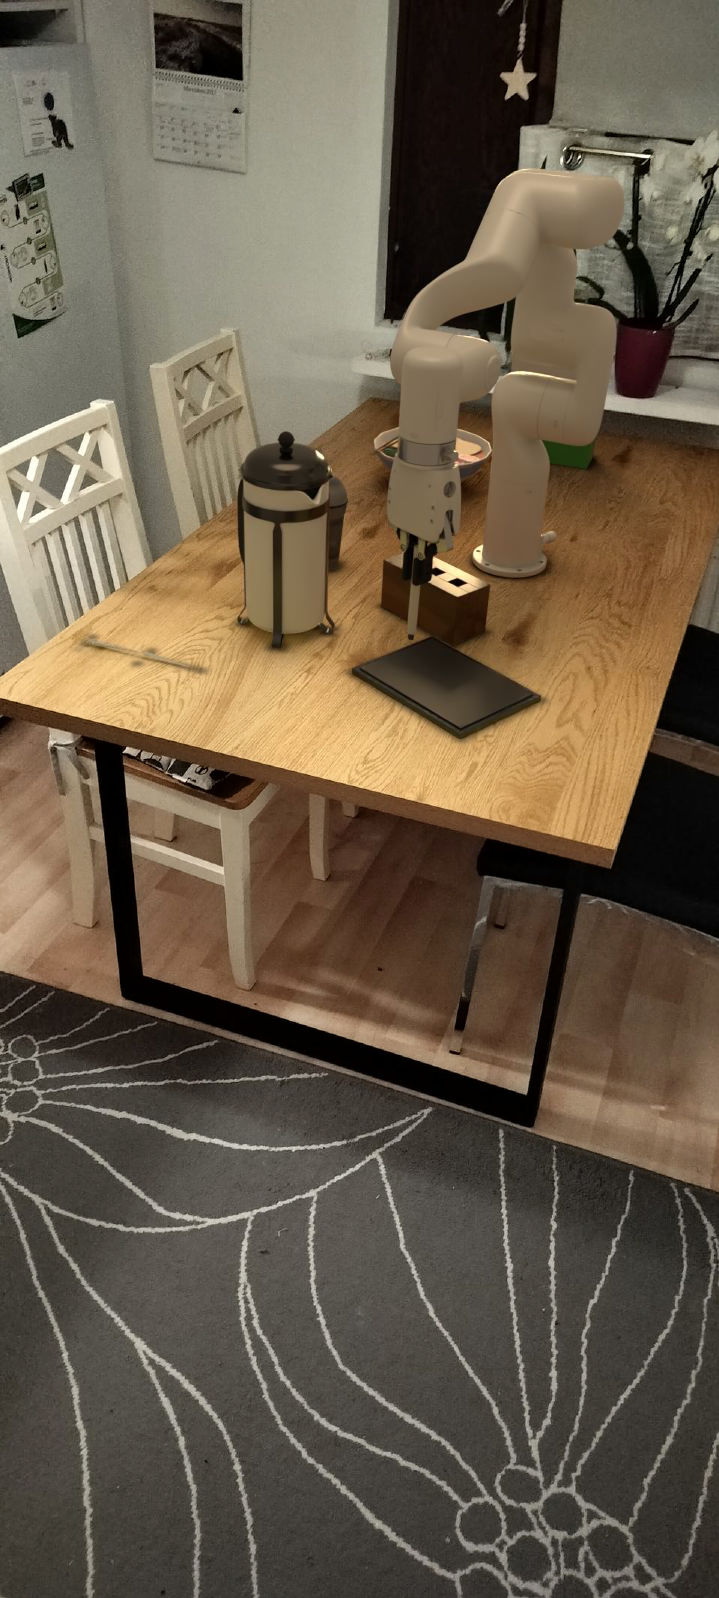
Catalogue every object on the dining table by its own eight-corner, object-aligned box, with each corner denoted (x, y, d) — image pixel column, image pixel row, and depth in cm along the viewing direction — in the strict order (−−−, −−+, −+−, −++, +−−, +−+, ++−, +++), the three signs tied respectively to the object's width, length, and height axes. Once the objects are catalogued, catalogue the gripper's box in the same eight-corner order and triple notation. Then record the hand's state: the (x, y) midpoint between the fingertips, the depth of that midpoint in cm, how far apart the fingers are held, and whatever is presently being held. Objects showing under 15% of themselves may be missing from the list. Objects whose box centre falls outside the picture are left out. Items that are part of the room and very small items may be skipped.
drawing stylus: (410, 636, 170) (419, 543, 162) (417, 639, 169) (425, 546, 161) (404, 638, 169) (412, 545, 161) (410, 642, 168) (418, 548, 161)
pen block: (412, 594, 192) (416, 548, 187) (485, 632, 182) (490, 584, 177) (380, 606, 188) (383, 559, 183) (453, 645, 178) (457, 597, 174)
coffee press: (346, 609, 187) (353, 418, 169) (321, 656, 174) (325, 455, 156) (241, 594, 190) (236, 405, 172) (208, 640, 177) (199, 441, 159)
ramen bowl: (451, 515, 219) (455, 472, 214) (346, 487, 228) (347, 445, 223) (510, 476, 236) (515, 435, 231) (410, 451, 245) (413, 411, 241)
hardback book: (501, 455, 245) (514, 335, 231) (510, 444, 251) (523, 325, 237) (586, 468, 241) (605, 346, 227) (592, 456, 247) (611, 337, 233)
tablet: (351, 672, 170) (351, 666, 170) (431, 640, 179) (431, 634, 179) (460, 739, 157) (460, 732, 157) (540, 700, 166) (541, 694, 166)
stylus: (194, 670, 167) (77, 642, 172) (194, 676, 168) (77, 648, 173) (207, 657, 170) (92, 630, 176) (207, 663, 171) (92, 636, 176)
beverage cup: (341, 577, 196) (344, 458, 184) (298, 571, 197) (299, 453, 185) (350, 559, 202) (354, 443, 190) (308, 554, 203) (310, 438, 191)
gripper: (489, 460, 151) (475, 593, 162) (406, 427, 160) (398, 555, 171) (448, 472, 147) (436, 607, 157) (364, 437, 156) (359, 568, 167)
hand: (416, 579), depth 164 cm, fingers closed on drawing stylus, 1 cm apart
